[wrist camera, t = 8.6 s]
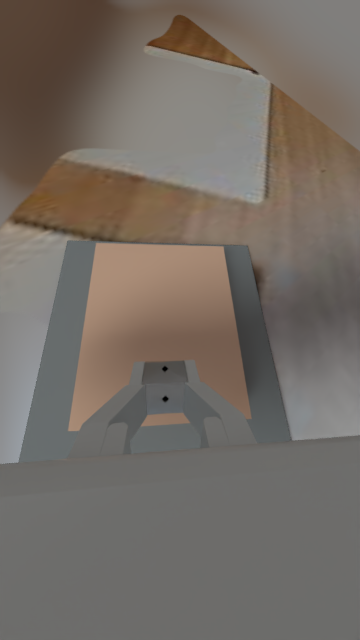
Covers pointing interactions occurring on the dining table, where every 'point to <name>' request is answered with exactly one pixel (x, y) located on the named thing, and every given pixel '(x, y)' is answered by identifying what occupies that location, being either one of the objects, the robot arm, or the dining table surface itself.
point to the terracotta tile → (157, 324)
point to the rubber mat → (56, 441)
